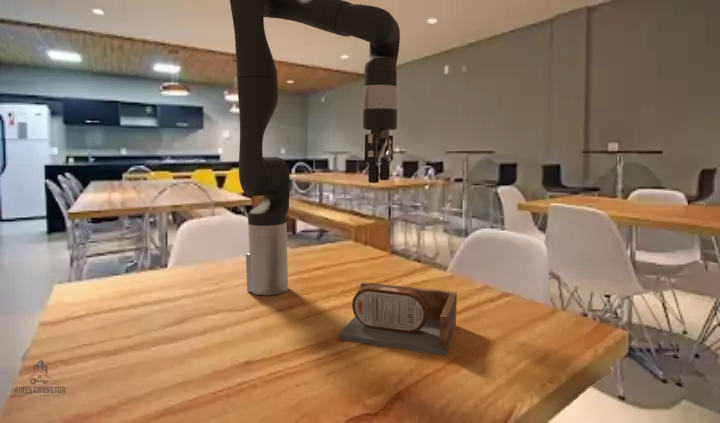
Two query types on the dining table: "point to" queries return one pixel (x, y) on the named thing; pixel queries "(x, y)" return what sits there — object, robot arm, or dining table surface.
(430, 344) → the mat
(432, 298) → the walls
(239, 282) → the dining table surface
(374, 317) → the tin
